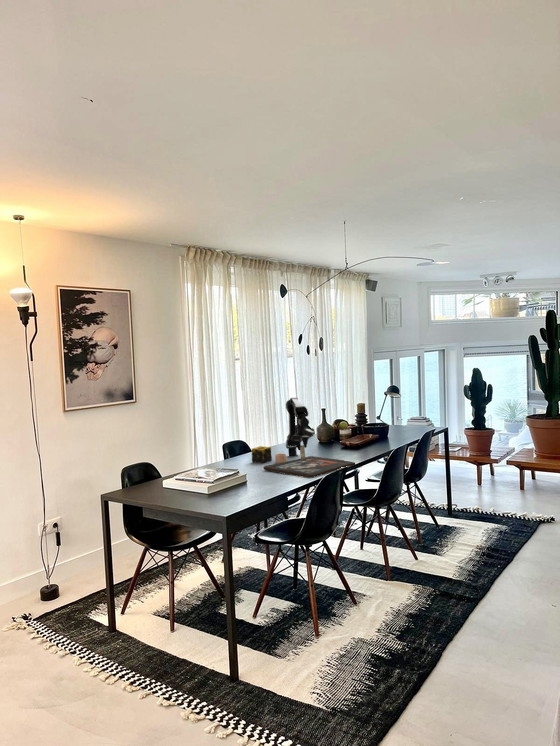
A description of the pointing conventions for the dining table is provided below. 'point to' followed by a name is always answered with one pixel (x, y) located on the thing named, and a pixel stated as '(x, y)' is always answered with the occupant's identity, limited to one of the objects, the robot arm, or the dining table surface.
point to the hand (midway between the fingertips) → (302, 449)
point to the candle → (261, 454)
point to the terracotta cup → (280, 458)
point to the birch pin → (302, 453)
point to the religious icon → (309, 466)
